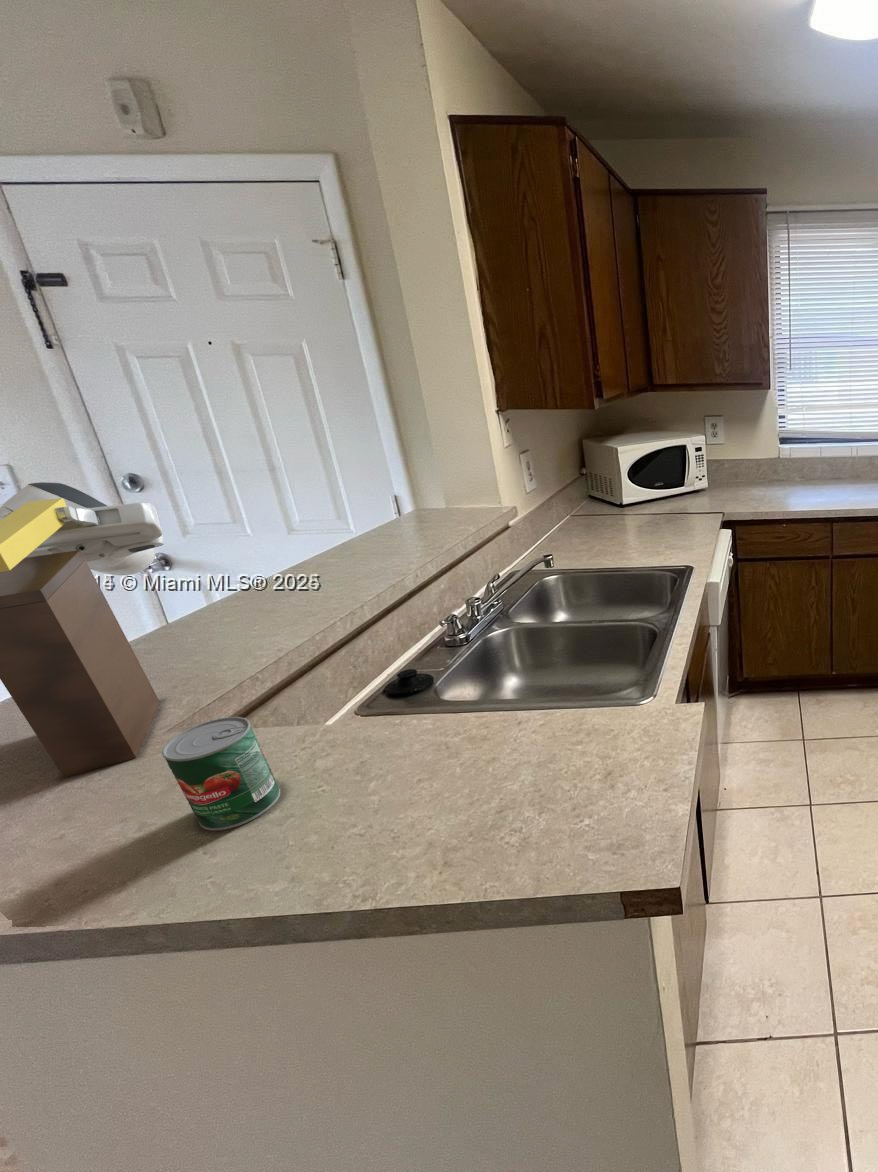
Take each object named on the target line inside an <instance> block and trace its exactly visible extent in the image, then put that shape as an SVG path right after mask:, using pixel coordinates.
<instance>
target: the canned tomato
mask: <svg viewBox="0 0 878 1172" xmlns="http://www.w3.org/2000/svg"><path fill="white" fill-rule="evenodd" d="M161 755H162V757H163V758H164V759H165V761H166V763H167V765H168V768H169V769H170V771H171V773H172V775H173V776H174V779H175V781H176V782H177V784H178V785H179V788H180V789H181V791H182V794H183V795H184V797H185V799H186V801H187V803H188V805H189V806H190V808H191V810H192V811H193V814H194V816H195V818H196V819H197V820H198V824H199V826H200V827H201V828H202V829H203V830H206V831H214V832H215V831H216V832H217V831H225V830H229V829H233V828H237V827H239V826H242V825H245V824H247V823H249V822H251V821H254V820H255V819H257V818H259V817H260V816H263V814H265V813H266V812H267V811H268V810H270V809H271V808H272V807H274V805H275V804H276V803H277V802H278V800H279V799H280V796H281V789H280V787H279V785H278V784H277V780H276V778H275V777H274V773H273V772H272V768H270V765H269V763H268V761H267V758H266V757H265V754H264V752H263V749H262V748H261V746H260V743H259V742H258V738H257V737H256V734H255V731H254V729H253V727H252V725H251V722H250V721H249V719H247V718H245V717H241V716H226V717H220V718H214V719H210V720H208V721H204V722H202V723H198V724H197V725H194V726H191V727H190V728H187V729H185V730H184V731H181V732H180V733H178V734H177V735H175V736H174V737H172V738H171V739H170V740H168V741H167V743H166V744H164V746H163V747H162V750H161Z"/></svg>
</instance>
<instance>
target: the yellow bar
mask: <svg viewBox="0 0 878 1172" xmlns="http://www.w3.org/2000/svg"><path fill="white" fill-rule="evenodd" d="M60 507H67V506H66V504H65V502H64V500H63V498H58V499H49V500H40V501H31V502H27V503H25V504H24V505H22V506H21V507H19V508H18V509H17V510H15V511H14V512H12V513H11V514H9V515H8V516H6V517H5V518H3V519H2V520H0V572H3V571H10V570H11V569H12V568H13V567H15V566H16V565H17V564H18V563H19V562H21V561H22V560H23V559H24V558H25V557H26V556H28V555H29V554H30V553H31V552H32V551H33V550H35V549H36V548H37V547H38V546H39V545H40V544H42V543H43V542H44V541H45V540H46V539H48V538H49V537H50V536H51V535H52V534H53V533H55V532H56V531H57V530H58V529H59V528H60V527H62V526H63V525H64V524H65V523H66V522H63V521H61V520H58V518H57V516H56V514H57V513H56V512H55V508H60Z"/></svg>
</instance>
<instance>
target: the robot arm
mask: <svg viewBox="0 0 878 1172" xmlns="http://www.w3.org/2000/svg"><path fill="white" fill-rule="evenodd" d="M58 498H63V500H64V502H65V504H66V506H67V507H60V508H55V512H56V513H57V514H56V516H57V518H58V520H61V521H63V522H66V523H65V524H64V525H63V526H62V527H60V528H59V529H58V530H57V531H56V532H55V533H53V534H52V535H51V536H50V537H49V538H48V539H46V540H45V541H44V542H43V543H42V544H40V545H39V546H38V547H37V548H36V549H35V550H33V551H32V552H31V553H30V554H29V555H28V556H26V557H25V558H27V557H34V556H41V555H48V554H55V553H62V552H69V551H76V550H80V551H81V552H82V554H83V556H84V558H85V560H86V562H87V564H88V566H89V568H90V570H91V571H94V572H97V573H102V574H105V575H113V576H132V575H135V574H138V573H141V572H143V571H145V570H146V569H148V568H149V567H150V566H151V565H152V563H153V562H154V561H155V558H156V548H158V547H162V546H164V545H165V540H164V533H163V528H162V525H161V521H160V517H159V514H158V511H157V508H156V506H154V504H152V503H150V502H132V503H131V502H130V503H123V504H114V505H107V504H105V503H104V502H102V501H100V500H98V499H96V498H95V497H93V496H91V495H89V494H88V493H85V492H83V491H81V490H80V489H77V488H75V487H73V486H70V485H67V484H65V483H60V482H48V481H47V482H46V481H44V482H43V481H42V482H41V481H40V482H32V483H31V482H30V483H28V484H27V485H25V486H24V487H23V488H21V489H20V490H19V491H17V492H16V493H14V494H13V495H12V496H11V497H10V498H9V499H7V500H6V501H5V502H3V504H2V505H1V506H0V520H2V519H3V518H5V517H6V516H8V515H9V514H11V513H12V512H14V511H15V510H17V509H18V508H19V507H21V506H22V505H24V504H25V503H27V502H31V501H40V500H49V499H58Z"/></svg>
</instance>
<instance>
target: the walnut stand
mask: <svg viewBox="0 0 878 1172" xmlns="http://www.w3.org/2000/svg"><path fill="white" fill-rule="evenodd" d="M0 681H1V683H2V684H3V686H4V687H5V689H6V691H7V692H8V693H9V695H10V697H11V698H12V700H13V702H14V703H15V704H16V706H17V708H18V709H19V711H20V713H21V714H22V715H23V717H24V719H25V720H26V722H27V723H28V725H29V726H30V728H31V729H32V731H33V732H34V734H35V736H36V737H37V739H38V740H39V741H40V743H41V745H42V746H43V748H44V749H45V751H46V752H47V754H48V755H49V757H50V759H51V761H52V762H53V764H54V765H55V766H56V768H57V769H58V771H59V773H60V774H61V776H62V777H63V778H68V777H71V776H75V775H78V774H82V773H87V772H89V771H93V770H97V769H101V768H105V767H107V766H111V765H115V764H118V763H122V762H126V761H129V760H132V759H133V760H134V759H136V758H137V756H138V754H139V752H140V749H141V747H142V744H143V742H144V740H145V738H146V735H147V733H148V731H149V728H150V726H151V723H152V721H153V719H154V716H155V714H156V712H157V710H158V706H159V704H160V699H159V697H158V696H157V694H156V692H155V689H154V688H153V686H152V684H151V682H150V679H149V678H148V677H147V674H146V672H145V671H144V669H143V667H142V665H141V663H140V661H139V659H138V657H137V655H136V653H135V652H134V650H133V648H132V646H131V644H130V642H129V640H128V638H127V636H126V635H125V633H124V630H123V629H122V627H121V625H120V622H119V621H118V619H117V618H116V616H115V613H114V611H113V610H112V608H111V606H110V604H109V602H108V600H107V599H106V597H105V595H104V592H103V590H102V588H101V587H100V585H99V583H98V581H97V578H95V575H94V574H93V570H91V569H90V568H89V566H88V564H87V562H86V560H85V558H84V556H83V554H82V552H81V551H80V550H76V551H69V552H62V553H55V554H48V555H41V556H34V557H27V558H24V559H23V560H22V561H21V562H19V563H18V564H17V565H16V566H15V567H13V568H12V569H11V570H10V571H3V572H0Z"/></svg>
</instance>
